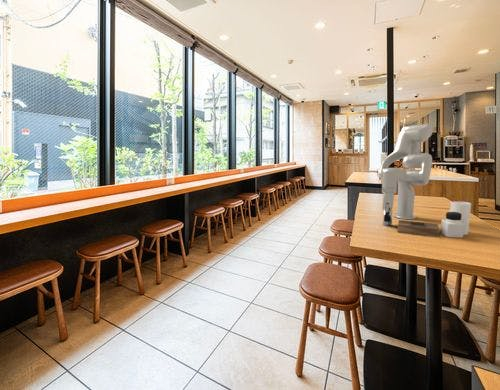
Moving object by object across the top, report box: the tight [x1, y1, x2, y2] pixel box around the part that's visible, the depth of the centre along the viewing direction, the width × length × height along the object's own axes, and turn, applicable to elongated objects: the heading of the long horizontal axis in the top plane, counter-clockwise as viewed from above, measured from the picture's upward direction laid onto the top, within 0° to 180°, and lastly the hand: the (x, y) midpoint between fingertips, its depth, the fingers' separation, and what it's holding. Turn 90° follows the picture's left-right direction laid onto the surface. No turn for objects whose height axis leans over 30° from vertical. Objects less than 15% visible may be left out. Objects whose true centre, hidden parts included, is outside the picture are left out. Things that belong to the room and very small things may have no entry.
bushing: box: [382, 209, 393, 227], centre depth 150 cm, size 5×5×9 cm
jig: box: [397, 219, 440, 238], centre depth 137 cm, size 12×18×4 cm, turn 57°
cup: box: [449, 200, 472, 236], centre depth 133 cm, size 8×8×16 cm
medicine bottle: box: [439, 211, 465, 239], centre depth 128 cm, size 7×7×12 cm
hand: (387, 220), depth 150 cm, fingers closed on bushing, 4 cm apart
